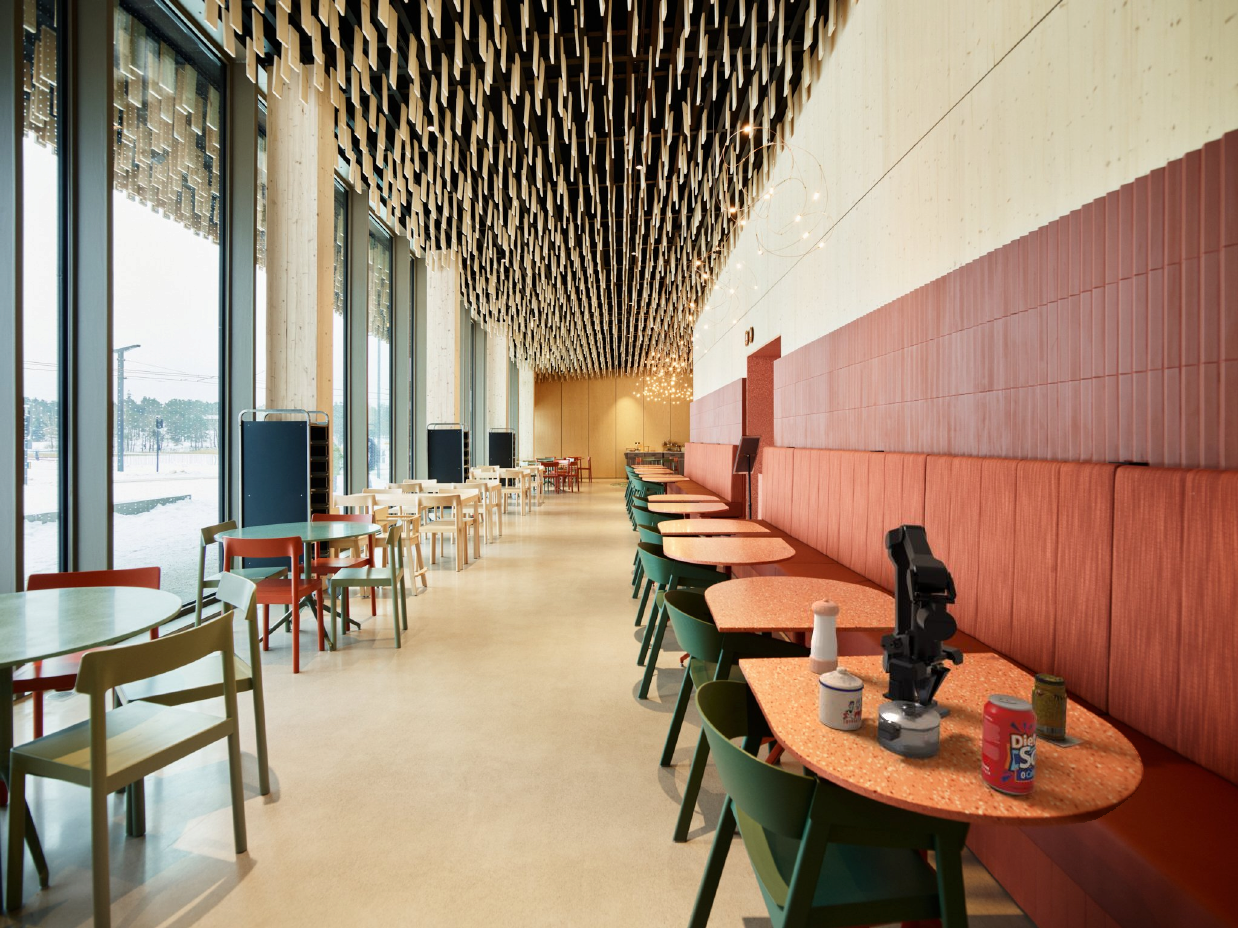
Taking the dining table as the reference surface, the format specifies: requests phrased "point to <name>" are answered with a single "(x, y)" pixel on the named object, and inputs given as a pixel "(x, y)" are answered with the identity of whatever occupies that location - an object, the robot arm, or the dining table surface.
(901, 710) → the lid
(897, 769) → the dining table surface
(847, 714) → the teacup with lid
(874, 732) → the dining table surface
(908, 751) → the pot
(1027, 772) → the soda can
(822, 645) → the pepper shaker
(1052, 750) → the dining table surface
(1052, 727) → the condiment
